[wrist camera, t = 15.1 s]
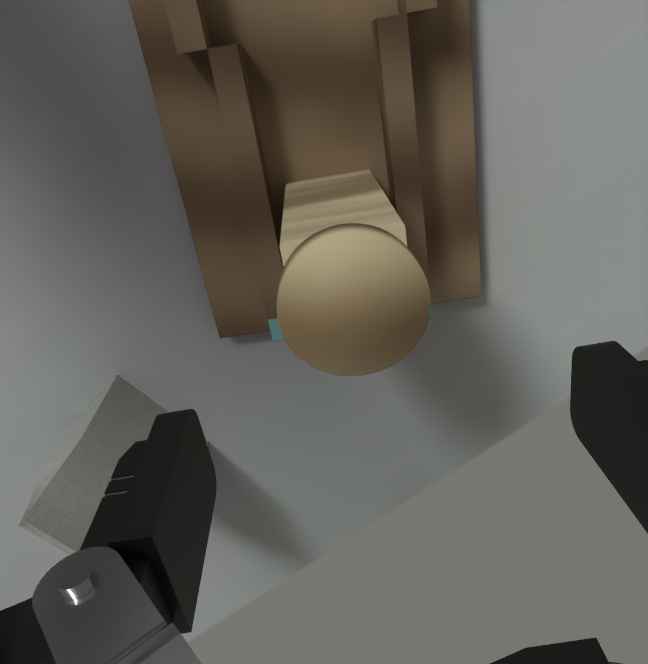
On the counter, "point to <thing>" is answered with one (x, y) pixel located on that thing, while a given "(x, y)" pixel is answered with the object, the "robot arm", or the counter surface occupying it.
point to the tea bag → (88, 464)
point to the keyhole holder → (314, 129)
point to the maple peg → (348, 277)
